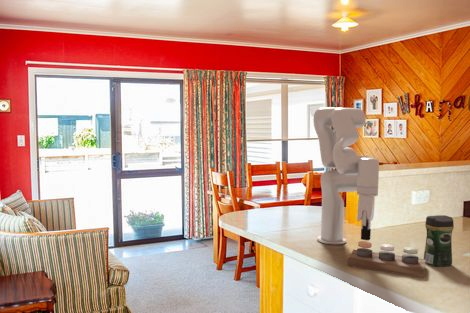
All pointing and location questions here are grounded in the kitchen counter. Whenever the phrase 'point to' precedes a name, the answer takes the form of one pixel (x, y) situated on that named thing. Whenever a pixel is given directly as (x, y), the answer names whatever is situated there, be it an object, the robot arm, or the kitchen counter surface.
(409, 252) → the sage button
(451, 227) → the coffee jar
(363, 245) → the terracotta button
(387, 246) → the white button
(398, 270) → the button board
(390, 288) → the kitchen counter surface
